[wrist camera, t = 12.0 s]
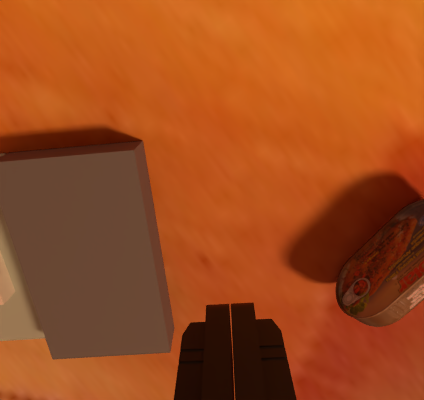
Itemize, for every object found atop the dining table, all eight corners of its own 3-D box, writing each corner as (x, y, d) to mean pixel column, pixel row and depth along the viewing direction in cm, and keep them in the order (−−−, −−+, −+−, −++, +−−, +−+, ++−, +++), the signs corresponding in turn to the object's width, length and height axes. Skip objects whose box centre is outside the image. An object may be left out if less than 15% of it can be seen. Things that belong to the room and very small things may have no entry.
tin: (425, 185, 37) (481, 219, 29) (445, 202, 38) (504, 239, 30) (325, 280, 42) (349, 331, 34) (344, 294, 42) (372, 347, 34)
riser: (9, 152, 36) (-15, 163, 33) (142, 140, 36) (134, 149, 32) (66, 334, 45) (52, 359, 41) (174, 328, 44) (170, 352, 41)
